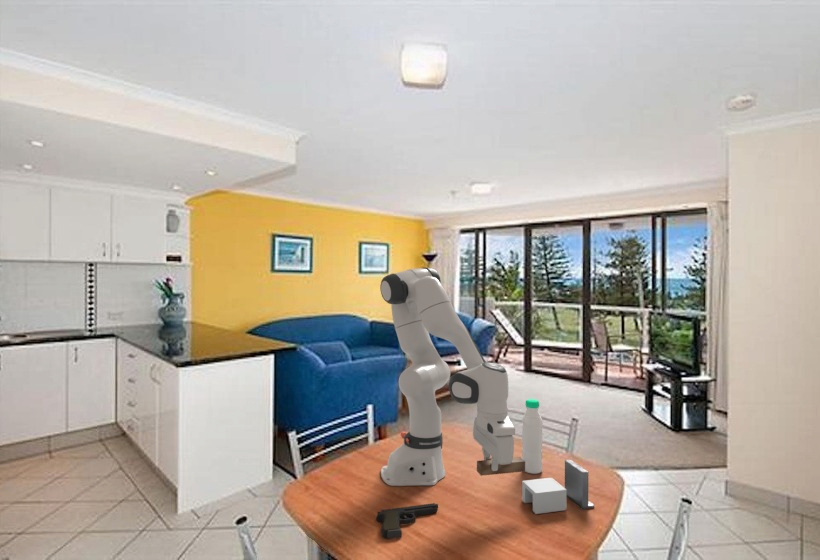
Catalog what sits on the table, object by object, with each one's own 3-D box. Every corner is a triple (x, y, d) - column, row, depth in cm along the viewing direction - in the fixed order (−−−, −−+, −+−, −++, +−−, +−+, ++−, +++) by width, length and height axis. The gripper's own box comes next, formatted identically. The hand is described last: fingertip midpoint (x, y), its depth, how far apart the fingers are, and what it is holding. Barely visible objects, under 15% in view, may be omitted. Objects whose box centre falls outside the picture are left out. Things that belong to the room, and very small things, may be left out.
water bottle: (543, 475, 150) (543, 403, 150) (522, 473, 152) (522, 402, 152) (541, 467, 157) (541, 398, 157) (521, 465, 159) (521, 397, 159)
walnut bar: (480, 475, 124) (481, 465, 124) (476, 471, 127) (477, 460, 127) (524, 471, 128) (525, 461, 128) (520, 467, 130) (520, 457, 130)
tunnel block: (535, 514, 125) (535, 493, 125) (522, 500, 133) (522, 480, 133) (566, 509, 127) (566, 489, 127) (551, 496, 135) (551, 477, 135)
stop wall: (582, 509, 128) (582, 472, 128) (564, 494, 137) (564, 460, 137) (594, 507, 129) (594, 471, 129) (575, 493, 138) (575, 458, 138)
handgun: (451, 522, 118) (436, 499, 129) (383, 531, 112) (374, 507, 124) (451, 532, 118) (436, 508, 129) (383, 542, 112) (373, 517, 124)
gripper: (468, 409, 136) (467, 452, 136) (497, 432, 116) (495, 483, 116) (487, 408, 137) (486, 451, 137) (518, 431, 117) (517, 481, 117)
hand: (490, 466), depth 126 cm, fingers closed on walnut bar, 3 cm apart
